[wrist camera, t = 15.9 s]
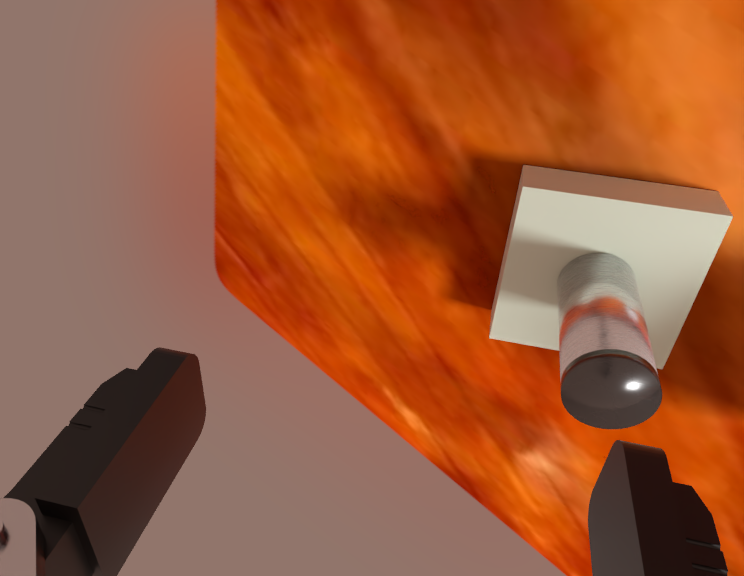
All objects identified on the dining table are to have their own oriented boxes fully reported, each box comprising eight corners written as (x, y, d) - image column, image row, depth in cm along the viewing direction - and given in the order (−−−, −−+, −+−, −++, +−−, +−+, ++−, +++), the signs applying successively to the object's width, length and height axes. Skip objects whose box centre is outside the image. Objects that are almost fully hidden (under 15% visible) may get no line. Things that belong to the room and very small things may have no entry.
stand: (523, 164, 45) (522, 186, 42) (718, 191, 43) (733, 216, 40) (491, 310, 53) (489, 338, 50) (654, 338, 51) (662, 369, 48)
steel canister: (568, 246, 44) (575, 351, 34) (647, 260, 43) (677, 372, 33) (549, 306, 47) (550, 417, 37) (621, 320, 46) (642, 437, 37)
